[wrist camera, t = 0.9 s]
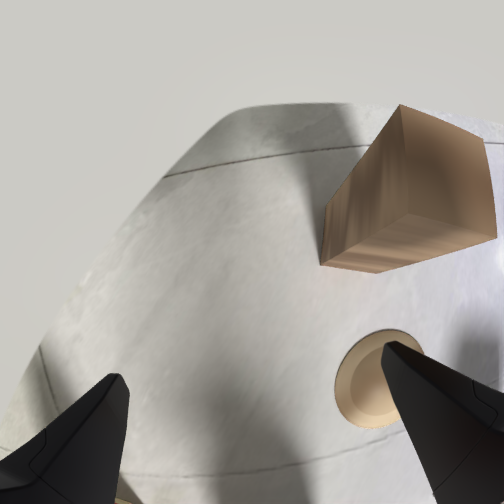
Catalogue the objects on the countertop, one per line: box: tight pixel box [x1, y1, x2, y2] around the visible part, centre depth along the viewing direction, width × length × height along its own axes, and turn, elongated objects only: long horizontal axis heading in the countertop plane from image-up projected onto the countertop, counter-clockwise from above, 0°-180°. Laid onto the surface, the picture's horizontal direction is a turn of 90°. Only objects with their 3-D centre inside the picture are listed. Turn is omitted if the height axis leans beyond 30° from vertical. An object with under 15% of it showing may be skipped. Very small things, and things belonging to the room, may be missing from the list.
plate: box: [335, 331, 424, 429], centre depth 21 cm, size 9×9×1 cm
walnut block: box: [320, 105, 497, 274], centre depth 16 cm, size 5×5×14 cm
